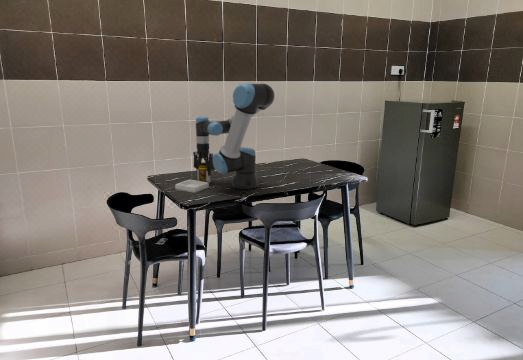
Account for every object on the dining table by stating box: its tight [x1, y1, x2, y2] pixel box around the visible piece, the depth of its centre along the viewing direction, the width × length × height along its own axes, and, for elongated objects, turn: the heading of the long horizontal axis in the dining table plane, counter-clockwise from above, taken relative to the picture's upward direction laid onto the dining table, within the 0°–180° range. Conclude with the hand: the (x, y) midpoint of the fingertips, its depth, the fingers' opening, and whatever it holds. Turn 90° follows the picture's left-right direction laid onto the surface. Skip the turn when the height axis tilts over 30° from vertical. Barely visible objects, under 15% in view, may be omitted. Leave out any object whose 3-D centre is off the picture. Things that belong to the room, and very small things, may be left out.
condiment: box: [197, 161, 213, 184], centre depth 242 cm, size 7×8×12 cm
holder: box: [174, 179, 210, 194], centre depth 229 cm, size 14×13×3 cm
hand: (203, 179), depth 243 cm, fingers closed on condiment, 6 cm apart
